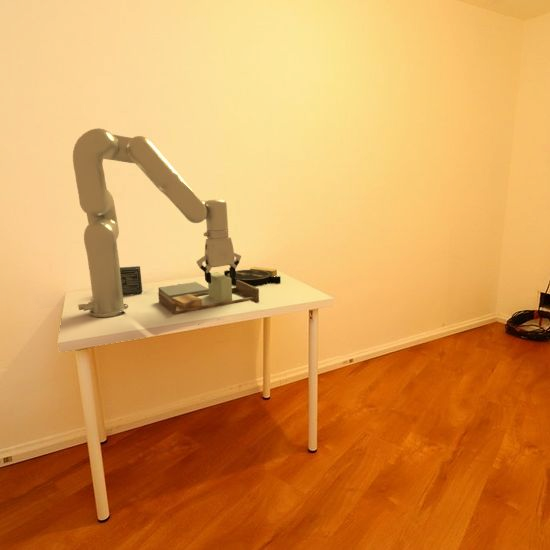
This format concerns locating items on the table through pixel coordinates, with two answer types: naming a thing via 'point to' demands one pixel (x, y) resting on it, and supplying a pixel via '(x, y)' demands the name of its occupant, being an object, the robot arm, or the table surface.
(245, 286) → the frame
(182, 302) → the upper offcut
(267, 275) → the decorative sign
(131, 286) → the small box
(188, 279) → the table surface
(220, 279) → the pale green block
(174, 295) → the grey board
